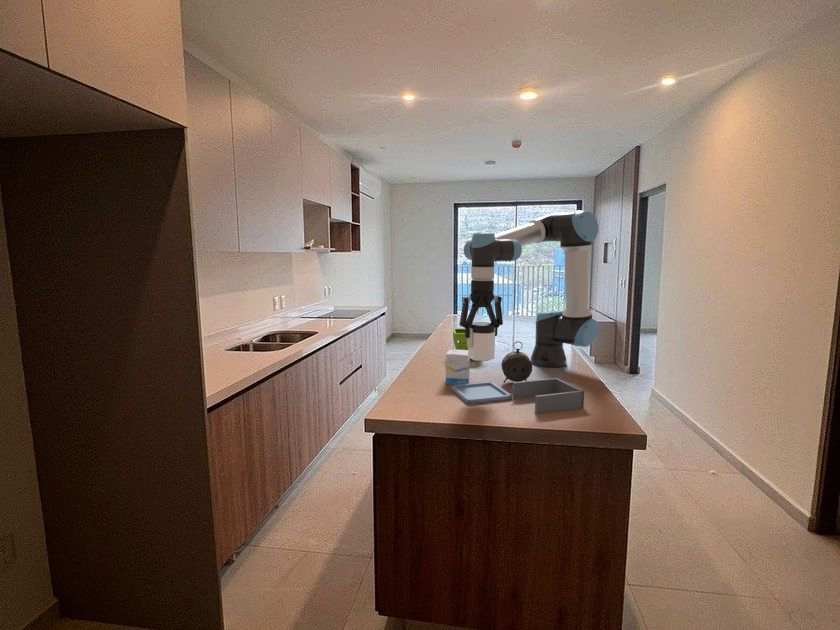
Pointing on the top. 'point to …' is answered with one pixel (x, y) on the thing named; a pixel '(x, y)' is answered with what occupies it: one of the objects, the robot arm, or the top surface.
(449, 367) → the ink box
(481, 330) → the jar
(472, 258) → the robot arm
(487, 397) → the tray
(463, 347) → the flower pot
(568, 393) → the wall
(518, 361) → the alarm clock
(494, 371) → the top surface
